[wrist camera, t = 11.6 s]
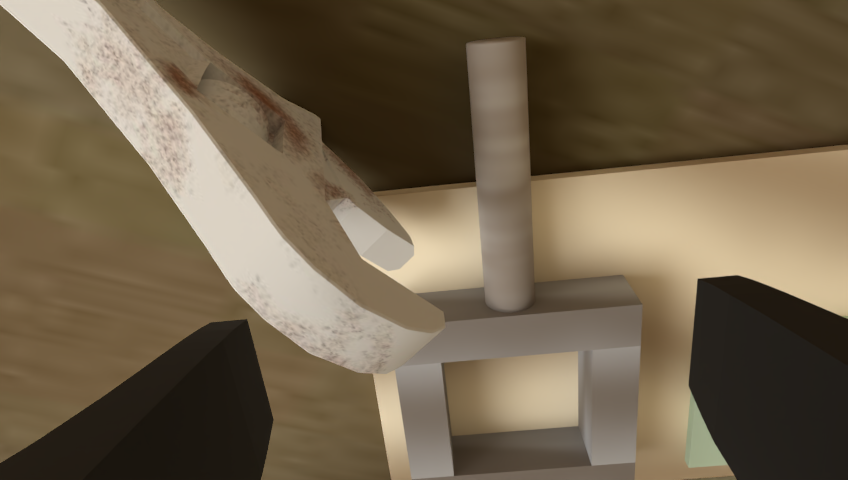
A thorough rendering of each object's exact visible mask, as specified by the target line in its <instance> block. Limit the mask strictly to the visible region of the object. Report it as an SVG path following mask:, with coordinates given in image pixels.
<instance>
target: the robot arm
mask: <svg viewBox="0 0 848 480" xmlns="http://www.w3.org/2000/svg"><path fill="white" fill-rule="evenodd" d="M688 386H689V388H690V391H691V393H692V395H693V397H694V400H695V402H696V404H697V407H698V409H699V411H700V414H701V416H702V418H703V420H704V422H705V424H706V426H707V429H708V431H709V433H710V435H711V437H712V439H713V441H714V443H715V445H716V446H717V448H718V450H719V451H720V453H721V455H722V456H723V458H724V459H725V461H726V463H727V464H728V466H729V467H730V469H731V471H732V472H733V474H734V476H735V477H736V479H737V480H848V319H847V318H845V317H842V316H840V315H838V314H835V313H833V312H830V311H828V310H826V309H823V308H821V307H819V306H816V305H814V304H812V303H809V302H807V301H805V300H802V299H800V298H797V297H795V296H793V295H790V294H788V293H786V292H783V291H781V290H778V289H776V288H773V287H771V286H768V285H766V284H763V283H760V282H758V281H755V280H752V279H749V278H746V277H742V276H739V275H733V276H722V277H711V278H700V279H698V280H697V292H696V303H695V315H694V326H693V338H692V350H691V361H690V373H689V384H688ZM272 424H273V416H272V412H271V409H270V405H269V401H268V397H267V393H266V389H265V386H264V382H263V378H262V374H261V370H260V367H259V363H258V359H257V355H256V351H255V348H254V344H253V340H252V336H251V332H250V329H249V325H248V321H247V319H245V320H234V321H223V322H212V323H209V324H207V325H206V326H204V327H202V328H200V329H199V330H197V331H195V332H194V333H192V334H191V335H189V336H188V337H186V338H185V339H183V340H182V341H181V342H179V343H178V344H176V345H175V346H173V347H172V348H171V349H169V350H168V351H166V352H165V353H164V354H162V355H161V356H159V357H158V358H157V359H155V360H154V361H153V362H151V363H150V364H148V365H147V366H146V367H144V368H143V369H141V370H140V371H139V372H137V373H136V374H134V375H133V376H132V377H130V378H129V379H127V380H126V381H125V382H123V383H122V384H120V385H119V386H118V387H116V388H115V389H113V390H112V391H111V392H109V393H108V394H106V395H105V396H103V397H102V398H100V399H99V400H97V401H96V402H94V403H93V404H91V405H90V406H88V407H87V408H85V409H84V410H83V411H81V412H80V413H78V414H77V415H75V416H74V417H72V418H71V419H69V420H68V421H66V422H65V423H63V424H62V425H60V426H59V427H57V428H56V429H54V430H53V431H51V432H50V433H48V434H47V435H45V436H44V437H42V438H41V439H39V440H37V441H36V442H34V443H33V444H31V445H29V446H28V447H26V448H25V449H23V450H21V451H20V452H18V453H16V454H15V455H13V456H11V457H10V458H8V459H7V460H5V461H3V462H2V463H0V480H261V477H262V473H263V468H264V464H265V459H266V455H267V450H268V445H269V440H270V434H271V429H272Z"/></svg>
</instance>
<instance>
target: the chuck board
mask: <svg viewBox="0 0 848 480" xmlns="http://www.w3.org/2000/svg"><path fill="white" fill-rule="evenodd" d="M466 53H467V66H468V79H469V93H470V106H471V119H472V133H473V146H474V159H475V172H476V182H467V183H457V184H447V185H437V186H427V187H417V188H407V189H397V190H387V191H377V192H373V193H374V194H375V195H376V196H377V197H378V198H379V200H380V201H381V202H382V203H383V204H384V205H385V206H386V207H387V208H388V210H389V211H390V212H391V213H392V215H393V216H394V217H395V218H396V219H397V221H398V222H399V223H400V224H401V226H402V227H403V228H404V229H405V230H406V232H407V233H408V234H409V235H410V237H411V240H412V242H413V245H414V256H413V257H412V258H411V259H410V260H409V261H408V262H406V263H405V264H404V265H403V266H402V267H401V268H400V269H398V270H392V271H387V270H385V269H383V268H381V267H380V266H378V265H376V264H374V263H373V262H371V261H369V260H367V259H366V258H364V257H362V256H361V255H360V257H361V259H363V260H364V261H366V262H367V263H369V264H371V265H372V266H374V267H375V268H377V269H378V270H380V271H381V272H383V273H384V274H386V275H387V276H389V277H391V278H392V279H394V280H395V281H397V282H398V283H400V284H401V285H403V286H404V287H406V288H408V289H409V290H411V291H412V292H414V293H415V294H417V295H418V296H420V297H421V298H423V299H424V300H426V301H428V302H429V303H431V304H432V305H434V306H435V307H437V308H438V309H440V310H441V311H443V312H444V319H445V328H444V329H443V330H442V331H441V332H440V333H439V334H438V335H436V336H435V337H434V338H433V339H432V340H431V341H430V342H429V343H427V344H426V345H425V346H424V347H423V348H422V349H421V350H419V351H418V352H417V353H416V354H415V355H414V356H413V357H411V358H410V359H409V360H408V361H407V362H406V363H405V364H403V365H402V366H401V367H399V368H397V369H395V370H393V371H391V372H389V373H387V374H375V373H373V376H374V382H375V388H376V394H377V400H378V406H379V411H380V417H381V423H382V429H383V435H384V441H385V446H386V452H387V458H388V464H389V470H390V476H391V480H682V479H695V478H709V477H723V476H734V474H733V472H732V471H731V469H730V467H729V466H728V465H721V466H707V467H694V468H689V467H688V465H687V464H686V462H685V451H686V439H687V428H688V417H689V406H690V395H691V391H690V388H689V386H688V384H689V373H690V361H691V350H692V338H693V326H694V315H695V303H696V292H697V280H698V279H700V278H711V277H722V276H733V275H739V276H742V277H746V278H749V279H752V280H755V281H758V282H760V283H763V284H766V285H768V286H771V287H773V288H776V289H778V290H781V291H783V292H786V293H788V294H790V295H793V296H795V297H797V298H800V299H802V300H805V301H807V302H809V303H812V304H814V305H816V306H819V307H821V308H823V309H826V310H828V311H830V312H833V313H835V314H838V315H840V316H848V145H838V146H828V147H818V148H808V149H798V150H788V151H778V152H768V153H758V154H748V155H738V156H727V157H717V158H707V159H697V160H687V161H677V162H667V163H657V164H647V165H637V166H627V167H617V168H607V169H597V170H587V171H577V172H567V173H557V174H547V175H537V176H531V170H530V143H529V116H528V89H527V62H526V38H525V37H499V38H490V39H482V40H477V41H472V42H468V43H466Z"/></svg>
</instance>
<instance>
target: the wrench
mask: <svg viewBox="0 0 848 480" xmlns="http://www.w3.org/2000/svg"><path fill="white" fill-rule="evenodd" d="M0 5H1V6H2V7H3V8H5V9H6V10H7V11H8V12H9V13H10V14H11V15H13V16H14V17H15V18H16V19H17V20H18V21H19V22H20V23H22V24H23V25H24V26H25V27H26V28H27V29H28V30H29V31H31V32H32V33H33V34H34V35H35V36H36V37H37V38H38V39H40V40H41V41H42V42H43V43H44V44H45V45H46V46H48V47H49V48H50V49H51V50H52V51H53V52H54V53H55V54H57V55H58V56H59V57H60V58H61V59H62V60H63V61H64V62H65V63H66V64H67V66H68V67H69V68H70V69H71V70H72V72H73V73H74V74H75V75H76V77H77V78H78V79H79V80H80V81H81V83H82V84H83V85H84V86H85V88H86V89H87V90H88V91H89V92H90V94H91V95H92V96H93V97H94V99H95V100H96V101H97V102H98V103H99V105H100V106H101V107H102V108H103V110H104V111H105V112H106V113H107V114H108V116H109V117H110V118H111V119H112V121H113V122H114V123H115V124H116V125H117V127H118V128H119V129H120V130H121V132H122V133H123V134H124V135H125V136H126V138H127V139H128V140H129V141H130V143H131V144H132V145H133V146H134V147H135V149H136V150H137V151H138V152H139V154H140V155H141V156H142V157H143V158H144V160H145V161H146V162H147V163H148V165H149V166H150V167H151V169H152V170H153V172H154V173H155V174H156V176H157V177H158V179H159V180H160V182H161V183H162V184H163V186H164V187H165V189H166V190H167V192H168V193H169V195H170V196H171V197H172V199H173V200H174V202H175V203H176V205H177V206H178V208H179V209H180V210H181V212H182V213H183V215H184V216H185V218H186V219H187V220H188V222H189V223H190V225H191V226H192V228H193V229H194V231H195V232H196V233H197V235H198V236H199V238H200V239H201V241H202V242H203V243H204V245H205V246H206V248H207V249H208V251H209V252H210V254H211V255H212V257H213V259H214V260H215V262H216V263H217V265H218V266H219V268H220V269H221V271H222V272H223V274H224V276H225V277H226V278H227V280H228V281H229V283H230V284H231V285H232V287H233V288H234V290H235V291H236V292H237V293H238V294H239V295H240V296H241V297H242V298H243V299H244V300H245V301H246V302H247V303H248V304H249V305H250V306H251V307H252V308H253V309H254V310H255V311H256V312H257V313H258V314H259V315H260V316H261V317H262V318H263V319H264V320H265V321H267V322H268V323H269V324H271V325H272V326H273V327H275V328H276V329H277V330H279V331H280V332H282V333H283V334H284V335H286V336H287V337H288V338H290V339H291V340H292V341H294V342H295V343H296V344H298V345H299V346H300V347H302V348H303V349H304V350H306V351H307V352H308V353H310V354H312V355H315V356H317V357H320V358H323V359H325V360H328V361H330V362H333V363H335V364H338V365H340V366H343V367H345V368H348V369H351V370H353V371H356V372H359V373H375V374H387V373H389V372H391V371H393V370H395V369H397V368H399V367H401V366H402V365H403V364H405V363H406V362H407V361H408V360H409V359H410V358H411V357H413V356H414V355H415V354H416V353H417V352H418V351H419V350H421V349H422V348H423V347H424V346H425V345H426V344H427V343H429V342H430V341H431V340H432V339H433V338H434V337H435V336H436V335H438V334H439V333H440V332H441V331H442V330H443V329H444V328H445V319H444V312H443V311H441V310H440V309H438V308H437V307H435V306H434V305H432V304H431V303H429V302H428V301H426V300H424V299H423V298H421V297H420V296H418V295H417V294H415V293H414V292H412V291H411V290H409V289H408V288H406V287H404V286H403V285H401V284H400V283H398V282H397V281H395V280H394V279H392V278H391V277H389V276H387V275H386V274H384V273H383V272H381V271H380V270H378V269H377V268H375V267H374V266H372V265H371V264H369V263H367V262H366V261H364V260H363V259H361V257H360V255H361V256H362V257H364V258H366V259H367V260H369V261H371V262H373V263H374V264H376V265H378V266H380V267H381V268H383V269H385V270H387V271H392V270H398V269H400V268H401V267H402V266H403V265H404V264H405V263H406V262H408V261H409V260H410V259H411V258H412V257H413V256H414V245H413V242H412V240H411V237H410V235H409V234H408V233H407V232H406V230H405V229H404V228H403V227H402V226H401V224H400V223H399V222H398V221H397V219H396V218H395V217H394V216H393V215H392V213H391V212H390V211H389V210H388V208H387V207H386V206H385V205H384V204H383V203H382V202H381V201H380V200H379V198H378V197H377V196H376V195H375V194H374V193H373V192H372V191H371V190H370V188H369V187H368V186H367V185H366V184H365V183H364V182H363V181H362V179H361V178H360V177H359V176H358V175H357V174H355V173H354V172H353V171H352V170H351V169H350V168H349V167H348V166H347V165H346V164H345V163H344V162H343V161H342V160H341V159H340V158H339V157H338V156H337V155H336V154H335V153H334V152H332V151H331V150H330V149H329V148H328V147H327V146H326V145H325V144H324V143H323V142H322V135H321V119H320V118H319V117H318V116H316V115H315V114H313V113H311V112H309V111H307V110H305V109H303V108H301V107H299V106H297V105H295V104H293V103H291V102H289V101H287V100H285V99H283V98H282V97H281V96H279V95H278V94H276V93H275V92H274V91H272V90H271V89H269V88H268V87H266V86H265V85H264V84H262V83H261V82H259V81H258V80H257V79H255V78H254V77H252V76H251V75H249V74H248V73H247V72H245V71H244V70H242V69H241V68H240V67H238V66H237V65H235V64H234V63H232V62H231V61H230V60H228V59H227V58H225V57H224V56H222V55H221V54H220V53H218V52H217V51H216V50H214V49H213V48H212V47H211V46H209V45H208V44H207V43H206V42H204V41H203V40H202V39H200V38H199V37H198V36H197V35H195V34H194V33H193V32H192V31H190V30H189V29H188V28H187V27H185V26H184V25H183V24H182V23H180V22H179V21H178V20H177V19H175V18H174V17H173V16H171V15H170V14H169V13H168V12H166V11H165V10H164V9H163V8H162V7H161V6H159V5H158V4H157V3H156V2H155V1H154V0H0Z"/></svg>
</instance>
